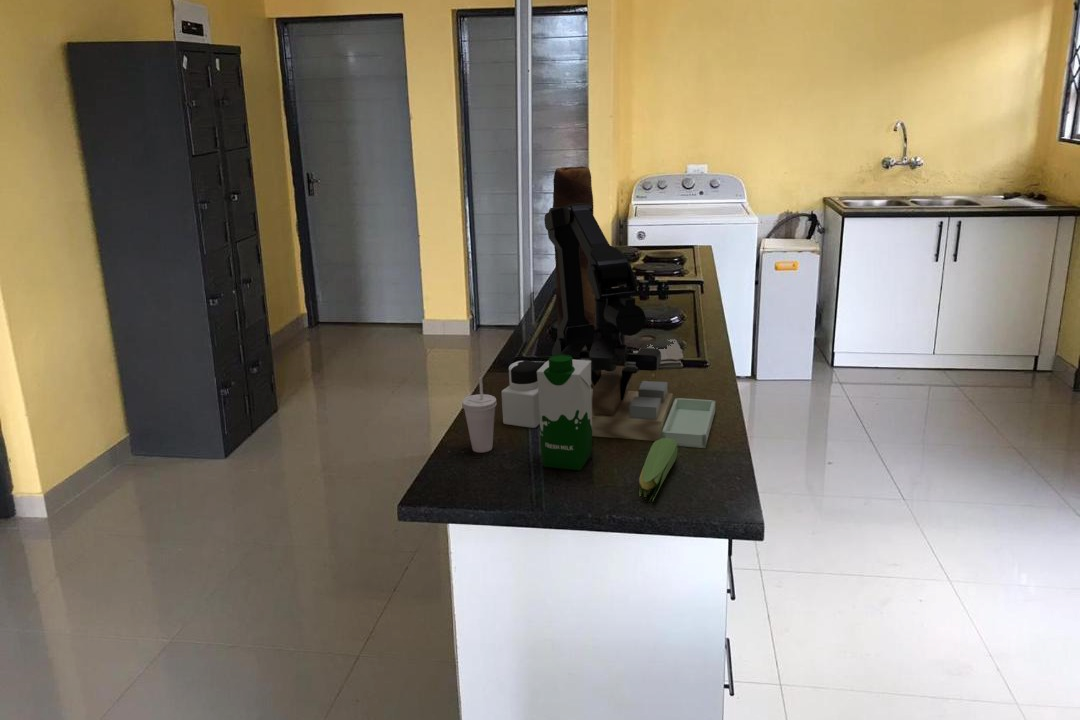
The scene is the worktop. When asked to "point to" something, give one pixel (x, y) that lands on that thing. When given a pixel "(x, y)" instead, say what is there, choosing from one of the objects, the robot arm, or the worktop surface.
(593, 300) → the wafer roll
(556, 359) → the milk carton
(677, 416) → the tray
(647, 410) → the tile
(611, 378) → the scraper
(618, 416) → the board
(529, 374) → the medicine bottle
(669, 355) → the washcloth
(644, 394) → the tile
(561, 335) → the robot arm
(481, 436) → the smoothie
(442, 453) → the worktop surface
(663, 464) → the edible corn
